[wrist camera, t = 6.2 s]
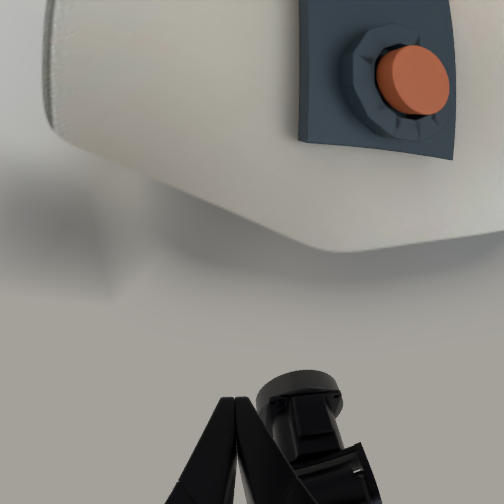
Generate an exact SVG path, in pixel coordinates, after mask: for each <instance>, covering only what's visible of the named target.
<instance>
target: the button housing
mask: <svg viewBox="0 0 504 504" xmlns="http://www.w3.org/2000/svg"><path fill="white" fill-rule="evenodd" d="M409 45H417V46H421V47H424V48H426V49H428V50H429V51H431V52H432V53H433V54H434V55H436V56H437V58H438V59H439V60H440V61H441V63H442V64H443V66H444V68H445V70H446V73H447V75H448V79H449V96H448V100H447V102H446V104H445V105H444V107H443V108H442V109H441V110H440V111H438V112H436V113H434V114H430V115H421V114H405V113H402V112H399V111H397V110H396V109H394V108H393V107H391V106H390V105H389V104H388V103H387V101H386V100H385V99H384V98H383V96H382V94H381V92H380V90H379V87H378V84H377V78H376V72H377V66H378V64H379V61H380V60H381V58H382V57H383V56H384V55H385V54H387V53H388V52H390V51H393V50H396V49H399V48H402V47H405V46H409ZM299 47H300V68H299V130H298V141H302V142H306V143H315V144H330V145H343V146H354V147H364V148H373V149H382V150H390V151H398V152H405V153H412V154H418V155H424V156H430V157H436V158H442V159H447V160H453V151H454V138H455V121H456V67H455V50H454V38H453V29H452V20H451V13H450V6H449V0H299Z"/></svg>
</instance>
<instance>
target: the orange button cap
mask: <svg viewBox="0 0 504 504" xmlns="http://www.w3.org/2000/svg"><path fill="white" fill-rule="evenodd" d="M376 78H377V84H378V87H379V90H380V92H381V94H382V96H383V98H384V99H385V100H386V101H387V103H388V104H389V105H390V106H391V107H393V108H394V109H396V110H397V111H399V112H402V113H405V114H421V115H430V114H434V113H436V112H438V111H440V110H441V109H442V108H443V107H444V105H445V104H446V102H447V100H448V96H449V79H448V75H447V73H446V70H445V68H444V66H443V64H442V63H441V61H440V60H439V59H438V58H437V56H436V55H434V54H433V53H432V52H431V51H429V50H428V49H426V48H424V47H421V46H417V45H409V46H405V47H402V48H399V49H396V50H393V51H390V52H388V53H387V54H385V55H384V56H383V57H382V58H381V60H380V61H379V64H378V66H377V72H376Z"/></svg>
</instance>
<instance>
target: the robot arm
mask: <svg viewBox="0 0 504 504" xmlns="http://www.w3.org/2000/svg"><path fill="white" fill-rule="evenodd" d="M341 396H342V395H341V392H340V390H330V391H322V392H314V393H305V394H294V395H282V396H272V397H270V398H269V399H268V405H267V417H266V426H265V424H264V423H263V421H262V420H261V418H260V416H259V415H258V413H257V411H256V410H255V408H254V406H253V405H252V403H251V401H250V399H249V398H248V397H235V402H234V398H233V397H222V398H220V400H219V402H218V404H217V406H216V408H215V410H214V412H213V414H212V416H211V418H210V420H209V422H208V424H207V426H206V428H205V430H204V432H203V434H202V436H201V438H200V440H199V441H198V444H197V446H196V447H195V449H194V451H193V453H192V455H191V457H190V459H189V461H188V463H187V465H186V466H185V468H184V470H183V472H182V474H181V476H180V478H179V482H177V483H176V485H175V487H174V489H173V491H172V492H171V494H170V495H169V497H168V499H167V501H166V502H165V504H233V498H234V488H235V477H236V476H235V475H236V466H237V456H238V463H239V468H240V473H241V477H242V483H243V487H244V492H245V496H246V501H247V504H382V501H381V497H380V494H379V490H378V487H377V484H376V481H375V478H374V475H373V473H372V470H371V468H370V465H369V462H368V460H367V457H366V455H365V452H364V450H363V447H362V444H361V442H359V443H357V444H354V446H351V447H348V448H345V449H344V446H343V442H342V439H341V436H340V433H339V429H338V426H337V423H336V420H335V417H334V416H335V414H336V411H337V408H338V405H339V402H340V399H341ZM273 438H274V439H273ZM236 442H237V443H236ZM359 469H360V470H361V471H358V472H356V473H353V471H356V470H359Z"/></svg>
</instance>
